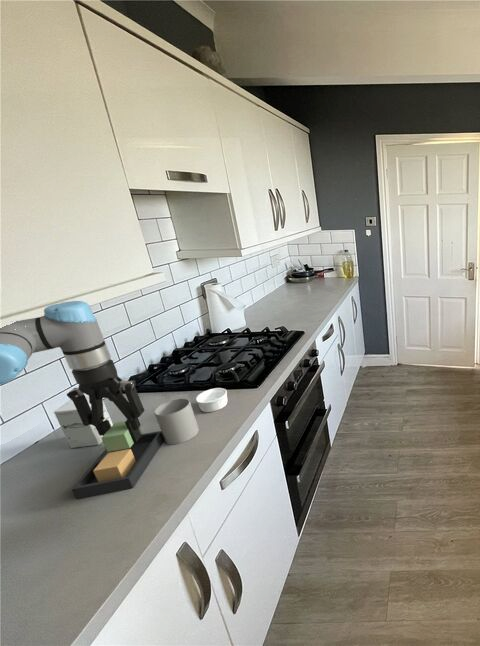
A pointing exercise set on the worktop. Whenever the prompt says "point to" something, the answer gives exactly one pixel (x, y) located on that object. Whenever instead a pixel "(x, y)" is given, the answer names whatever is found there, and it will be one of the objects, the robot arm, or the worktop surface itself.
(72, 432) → the white packaging box
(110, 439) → the pad
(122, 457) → the light orange rectangular block
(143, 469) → the tray
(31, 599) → the worktop surface
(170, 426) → the cup
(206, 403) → the ramekin
